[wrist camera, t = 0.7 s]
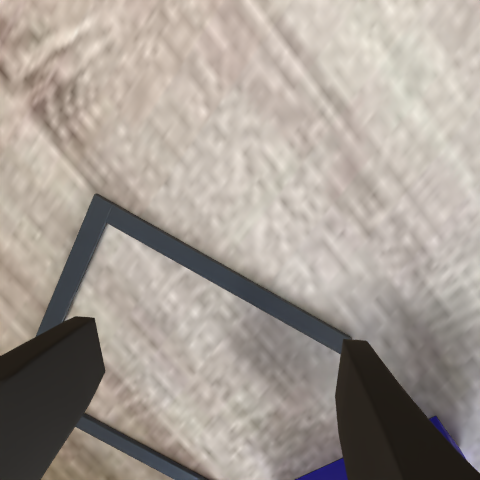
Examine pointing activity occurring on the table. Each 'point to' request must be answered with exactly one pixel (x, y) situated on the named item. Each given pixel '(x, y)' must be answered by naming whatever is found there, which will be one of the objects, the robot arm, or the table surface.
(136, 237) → the frame
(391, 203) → the table surface
